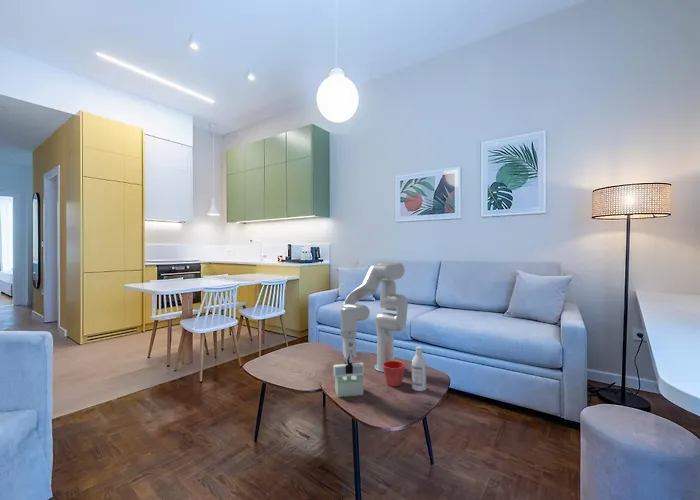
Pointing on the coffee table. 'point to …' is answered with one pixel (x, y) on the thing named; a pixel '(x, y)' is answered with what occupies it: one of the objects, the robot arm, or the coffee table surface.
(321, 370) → the coffee table surface
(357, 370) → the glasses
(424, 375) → the bath foam
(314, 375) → the coffee table surface
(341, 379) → the notched toy brick
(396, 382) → the flower pot
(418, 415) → the coffee table surface
